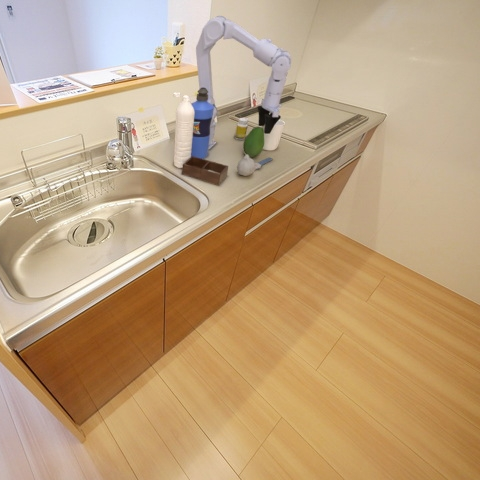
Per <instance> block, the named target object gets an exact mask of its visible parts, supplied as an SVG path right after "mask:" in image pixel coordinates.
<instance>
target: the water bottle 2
mask: <svg viewBox="0 0 480 480" xmlns="http://www.w3.org/2000/svg"><path fill="white" fill-rule="evenodd" d="M207 93H208V91H207V89H206V88H200V89H198V90H197V94H196V100H195V101H193V102H190V103H191V104H192V106H193V108H194V112H195V114H194V123H193V137H192V149H191V157H192V156H194V157H198V158H201V159H205V158H207V157H208V153H209V149H208V146H209V139H210V124H211V120H212V116H213V111H214V105H212V104H210V103H209V102H208V101H207V100H208V94H207Z"/></svg>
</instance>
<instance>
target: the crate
mask: <svg viewBox="0 0 480 480" xmlns="http://www.w3.org/2000/svg"><path fill="white" fill-rule="evenodd" d="M181 170H182V171H181V175H184V176H186V177H189V178H194V179H197V180H199V181H203V182H207V183H209V184H213V185H215V186H220V184H222V182H223V181H224V180H225V179H226V177H228V171H229V165H227V164H222V163H219V162H216V161H213V160H212V161H211V160H209V159H205V158H202V159H201V158H198V157H194V156H192V157H190V158H189V159H188V160H187V161H186V162H185V163H184V164H183V168H181Z"/></svg>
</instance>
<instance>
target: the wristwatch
mask: <svg viewBox="0 0 480 480" xmlns="http://www.w3.org/2000/svg"><path fill="white" fill-rule="evenodd" d="M273 160H274V159H273V158H272V157H267V158H265V159H263V160H261V161H258V162H257V161H256V162H255V161H254V162H255V164H256V165H257V166H256V167H255V170H261V167H262V166H263V165H265V164H267V163H270V162H271V161H273ZM236 173H237V174H238V175H241V174H240V173H239V172H238V171H237V172H236ZM241 176H242V175H241Z"/></svg>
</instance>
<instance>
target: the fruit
mask: <svg viewBox="0 0 480 480" xmlns="http://www.w3.org/2000/svg"><path fill="white" fill-rule="evenodd" d="M263 147H264V130H263V128H262V126H256V127H253V128H252V129H251V130H250V131H249V133H248V134H246V136H245V139H243V143H242V149H243V153H244V154H245V155H246V154H247V155H249V157H250V158H251V159H253V158H255V157H258V156H259V155H260V154H261V153H262V151H263Z"/></svg>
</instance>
